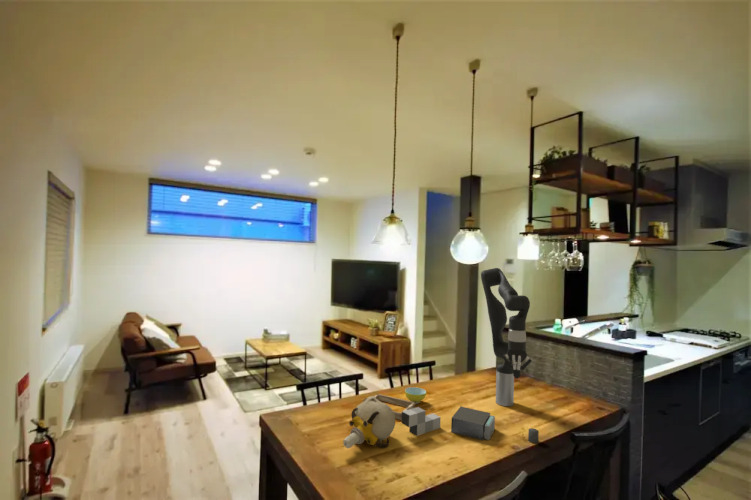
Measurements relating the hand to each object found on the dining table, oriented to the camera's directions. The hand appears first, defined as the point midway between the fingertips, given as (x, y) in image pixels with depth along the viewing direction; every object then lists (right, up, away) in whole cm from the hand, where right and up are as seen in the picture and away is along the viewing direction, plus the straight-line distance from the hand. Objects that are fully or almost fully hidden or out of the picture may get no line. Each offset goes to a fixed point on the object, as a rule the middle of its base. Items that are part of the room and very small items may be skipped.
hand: (516, 377), depth 166 cm
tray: (-19, -24, +1) cm, 31 cm away
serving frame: (-57, -24, +22) cm, 66 cm away
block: (-44, -24, -1) cm, 50 cm away
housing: (-20, -24, +2) cm, 32 cm away
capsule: (+4, -25, -7) cm, 26 cm away
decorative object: (-70, -23, -13) cm, 75 cm away
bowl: (-43, -25, +32) cm, 59 cm away
